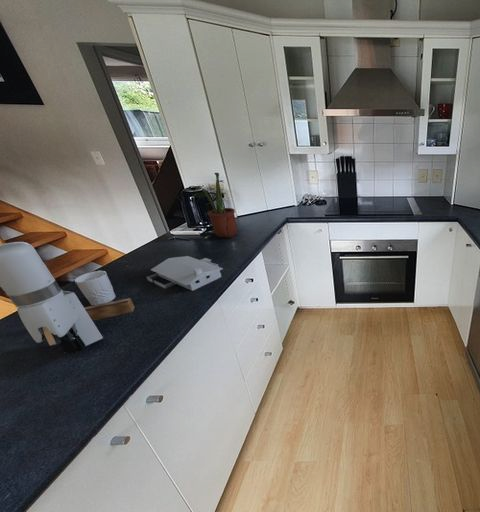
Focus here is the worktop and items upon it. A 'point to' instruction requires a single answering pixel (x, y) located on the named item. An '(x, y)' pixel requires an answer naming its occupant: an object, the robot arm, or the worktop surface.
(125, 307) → the rail
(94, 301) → the white cup
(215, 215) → the potted plant
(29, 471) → the worktop surface
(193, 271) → the grey portable case
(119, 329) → the worktop surface
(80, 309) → the milk carton
